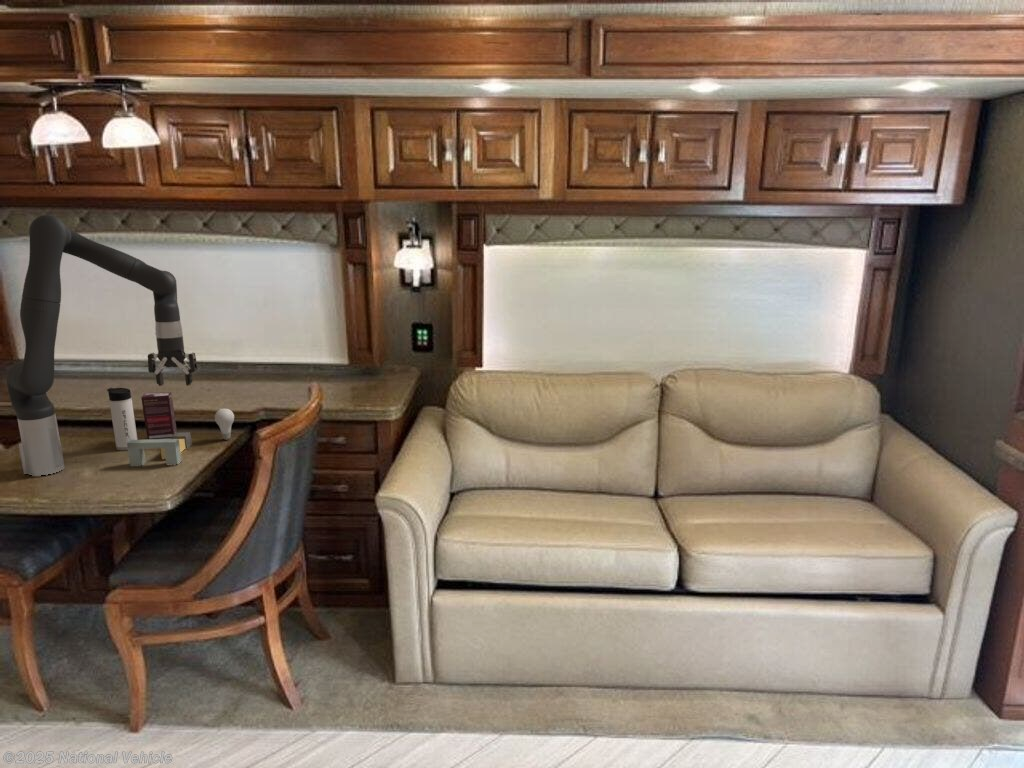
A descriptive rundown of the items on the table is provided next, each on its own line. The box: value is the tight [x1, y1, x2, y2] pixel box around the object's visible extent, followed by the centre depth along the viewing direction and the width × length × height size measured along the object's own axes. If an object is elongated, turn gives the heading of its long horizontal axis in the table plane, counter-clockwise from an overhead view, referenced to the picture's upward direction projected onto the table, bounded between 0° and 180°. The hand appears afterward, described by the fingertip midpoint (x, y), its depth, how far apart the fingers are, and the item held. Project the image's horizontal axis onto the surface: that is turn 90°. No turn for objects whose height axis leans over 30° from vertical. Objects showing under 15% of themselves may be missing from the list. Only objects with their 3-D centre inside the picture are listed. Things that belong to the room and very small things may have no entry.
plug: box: [160, 431, 193, 459], centre depth 218 cm, size 5×14×5 cm, turn 4°
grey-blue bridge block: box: [127, 439, 182, 467], centre depth 207 cm, size 14×3×8 cm, turn 94°
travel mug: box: [106, 387, 138, 451], centre depth 220 cm, size 6×7×20 cm
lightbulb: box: [214, 408, 235, 441], centre depth 229 cm, size 6×6×11 cm
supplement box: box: [140, 391, 178, 440], centre depth 229 cm, size 9×5×16 cm, turn 105°
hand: (174, 385), depth 217 cm, fingers open, 8 cm apart
